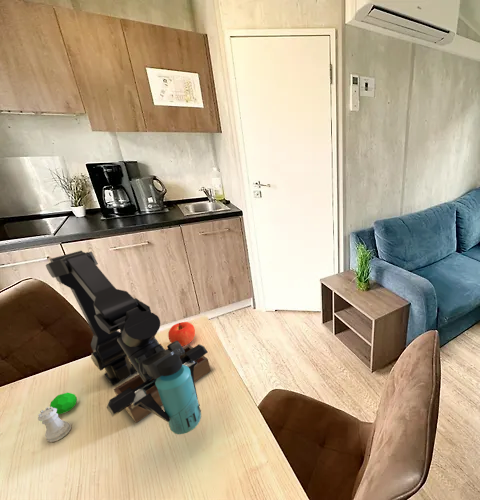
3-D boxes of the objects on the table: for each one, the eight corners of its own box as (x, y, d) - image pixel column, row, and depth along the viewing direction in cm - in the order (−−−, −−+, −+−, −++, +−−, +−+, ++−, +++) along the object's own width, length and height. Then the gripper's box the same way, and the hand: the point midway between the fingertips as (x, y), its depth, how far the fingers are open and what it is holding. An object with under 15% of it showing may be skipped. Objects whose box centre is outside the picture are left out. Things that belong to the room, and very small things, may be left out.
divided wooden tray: (119, 401, 78) (113, 389, 76) (192, 356, 93) (189, 344, 91) (136, 423, 72) (130, 410, 70) (211, 370, 87) (207, 358, 85)
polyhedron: (54, 408, 76) (46, 396, 74) (79, 397, 79) (72, 385, 77) (54, 421, 72) (46, 409, 70) (79, 409, 75) (72, 397, 73)
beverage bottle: (190, 443, 61) (171, 376, 53) (163, 436, 62) (140, 369, 54) (209, 415, 67) (194, 351, 59) (184, 409, 68) (166, 345, 59)
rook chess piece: (76, 428, 71) (63, 406, 68) (54, 445, 67) (39, 423, 64) (64, 422, 72) (51, 400, 69) (42, 439, 68) (27, 417, 65)
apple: (179, 334, 102) (174, 316, 99) (201, 334, 102) (196, 316, 99) (165, 350, 95) (159, 331, 92) (189, 350, 95) (183, 331, 92)
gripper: (91, 371, 49) (139, 447, 48) (194, 315, 64) (233, 373, 63) (89, 382, 56) (132, 448, 56) (183, 330, 71) (217, 382, 70)
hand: (183, 410), depth 61 cm, fingers closed on beverage bottle, 5 cm apart
